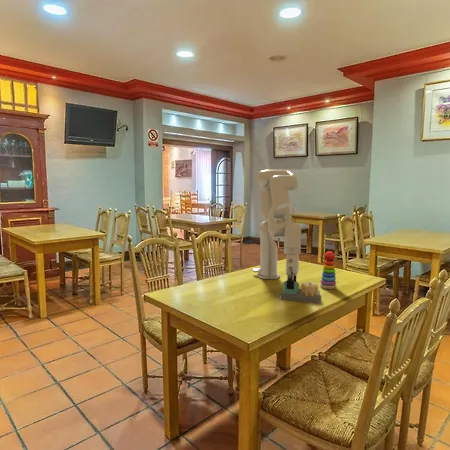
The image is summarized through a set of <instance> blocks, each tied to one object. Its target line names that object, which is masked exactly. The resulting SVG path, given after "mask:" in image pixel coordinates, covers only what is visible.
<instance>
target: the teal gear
mask: <svg viewBox="0 0 450 450" xmlns="http://www.w3.org/2000/svg"><path fill="white" fill-rule="evenodd" d="M299 289H300V283H299V282H298V281H296V282H295V281H294V289H287V280H285V281H283V282H282V291H283V292H284V293H286V294H290V295H291V294H297V293H299Z"/></svg>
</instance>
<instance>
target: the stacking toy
mask: <svg viewBox="0 0 450 450" xmlns="http://www.w3.org/2000/svg"><path fill="white" fill-rule="evenodd" d="M324 259H325V260H324V264H323V266H322V267H323V269H322V276H321V280H320V284H319V286H320V288H322V289H325V290H334V289H337V281H336V279H337V277H336V269H335V267H336V266H335V261H334V260H335V259H336V255H335V253H334V252H333V251H326V252H325V253H324Z"/></svg>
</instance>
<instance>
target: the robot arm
mask: <svg viewBox="0 0 450 450" xmlns="http://www.w3.org/2000/svg"><path fill="white" fill-rule="evenodd" d="M256 177H257V178H256V182H257V187H258V190H259V194H260V213H261V217H262V218H264V219H265V220H266V219H267V220H266V221H263V222H261V223H260V224H259V226H258V232H259V245H260V247H259V249H260V250H259V251H260V252H259V253H260V254H259V256H260V259H259V260H260V261H259V263H260V264H259V265H260V266H259V267H258V268H255V267H254V268H252V272H254V273H257V278H260V279H263V280H277V279H279V278H280V276H281V275H280V273H278V244H277V243H276V242H275V240H274V239H282V238H284V239H283V241H284V242H283V243H284V244H283V247H284V248H283V254H284V255H286V259H285V272H286V276H287V277H286V281H287V289H294V281H295V282H297V276H298V274H299V272H300V270H299V267H300V266H299V265H300V263H299V262H300V261H299V259H300V257H299V255H301V251H302V250H301V248H302V247H301V245H302V244H301V243H302V242H301V241H302V226H301V225H300V224H298V223H296V221H295V222H294V221H291V211H290V210H291V209H290V204H291V200H290V195H289V192H295V191H296V190H297V188H298V186H299V185H298V183H299V181H298V179H297V176H296V175H295V174H294V173H292V172H291V171H290V170H288V169H264V170H260V171H259V172H258V174H257V176H256ZM276 219H279V220H276Z"/></svg>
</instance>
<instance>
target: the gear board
mask: <svg viewBox="0 0 450 450" xmlns="http://www.w3.org/2000/svg"><path fill="white" fill-rule="evenodd" d="M320 295H321V290H319V284H318V283H315V282H312V281H307V282H302V283H301V288H299V293H297V294H291V295H290V294H286V293H284V292H283V290H282V291H281V293H280V296H279V298H280V300H283V301H292V302H300V303H301V302H303V303H312V304H313V303H314V304H319V301H320Z"/></svg>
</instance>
